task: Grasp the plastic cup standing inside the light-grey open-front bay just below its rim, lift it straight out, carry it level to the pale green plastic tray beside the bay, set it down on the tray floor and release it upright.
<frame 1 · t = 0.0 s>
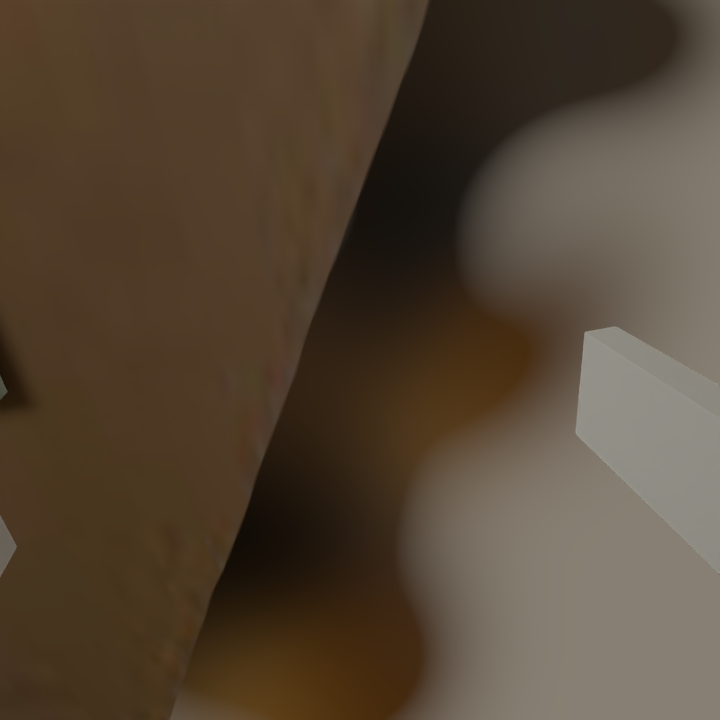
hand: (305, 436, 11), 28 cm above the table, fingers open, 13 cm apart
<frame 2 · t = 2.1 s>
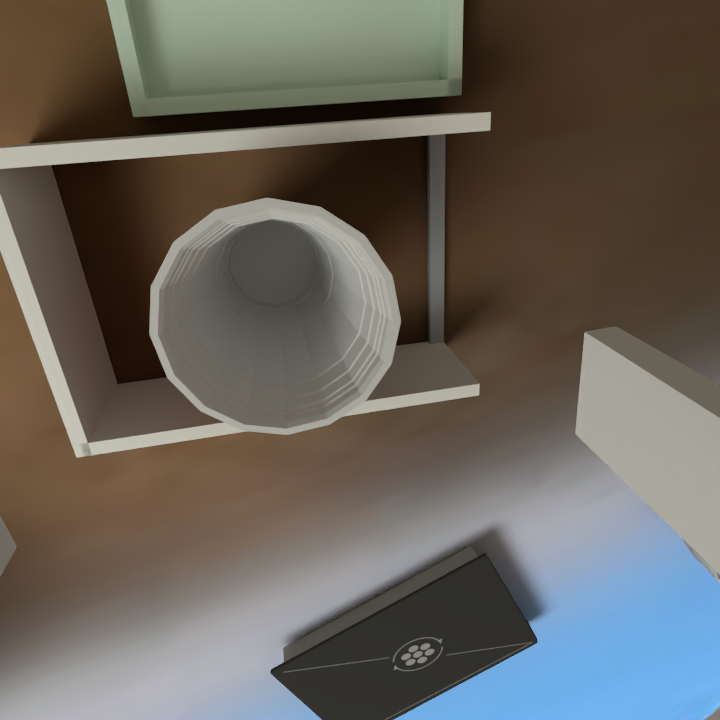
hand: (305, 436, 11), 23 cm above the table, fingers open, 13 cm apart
plastic cup: (269, 261, 33), resting in bay
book: (403, 627, 51), on the table
bay: (269, 262, 33), on the table
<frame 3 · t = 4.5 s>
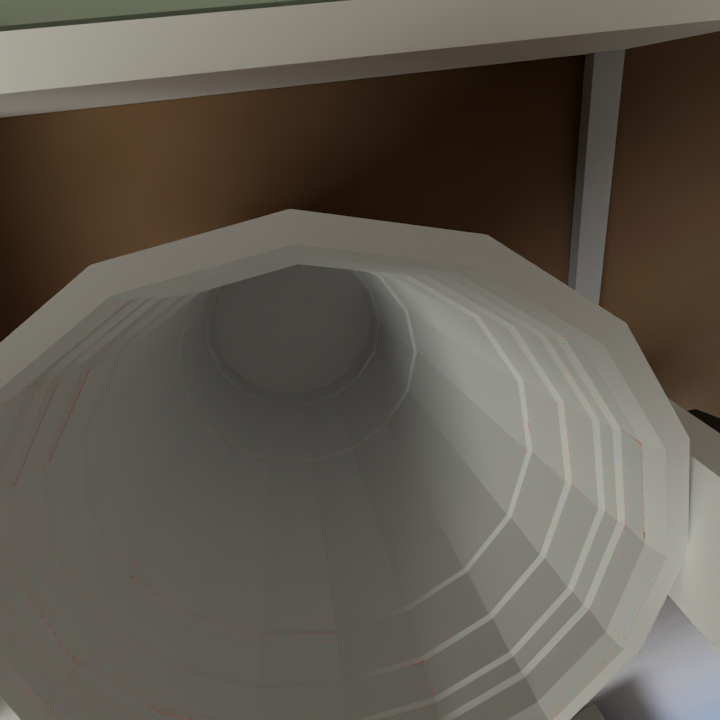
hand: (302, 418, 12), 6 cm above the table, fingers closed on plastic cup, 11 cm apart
plastic cup: (286, 318, 18), resting in bay, touching gripper
bay: (286, 319, 18), on the table
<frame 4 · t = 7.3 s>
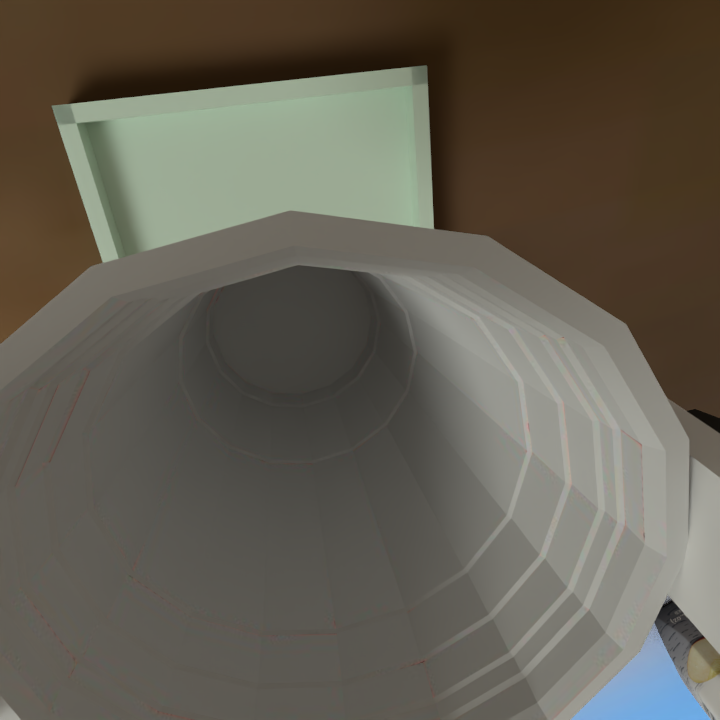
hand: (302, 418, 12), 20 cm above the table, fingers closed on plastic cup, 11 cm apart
juice carton: (694, 608, 52), on the table
tray: (275, 240, 30), on the table
plastic cup: (286, 319, 18), point 13 cm above the table, touching gripper
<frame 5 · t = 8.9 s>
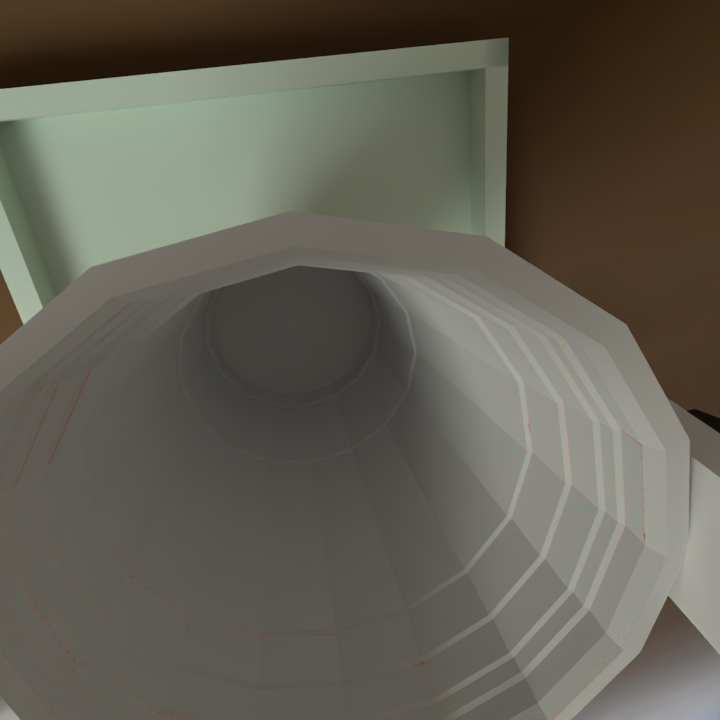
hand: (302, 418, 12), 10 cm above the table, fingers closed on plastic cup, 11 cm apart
tray: (278, 288, 21), on the table
plastic cup: (286, 319, 18), point 4 cm above the table, touching gripper
when the fingers open (7 cm above the table, at t = 10.1 s): plastic cup stays where it is, resting on tray.
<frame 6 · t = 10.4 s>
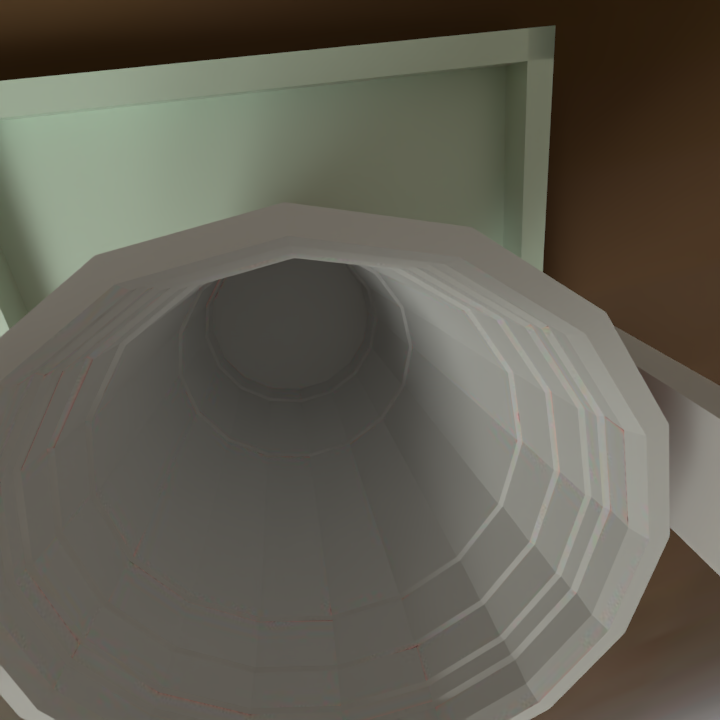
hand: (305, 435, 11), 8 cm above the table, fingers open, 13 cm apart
tray: (285, 312, 19), on the table
plastic cup: (285, 315, 18), resting on tray
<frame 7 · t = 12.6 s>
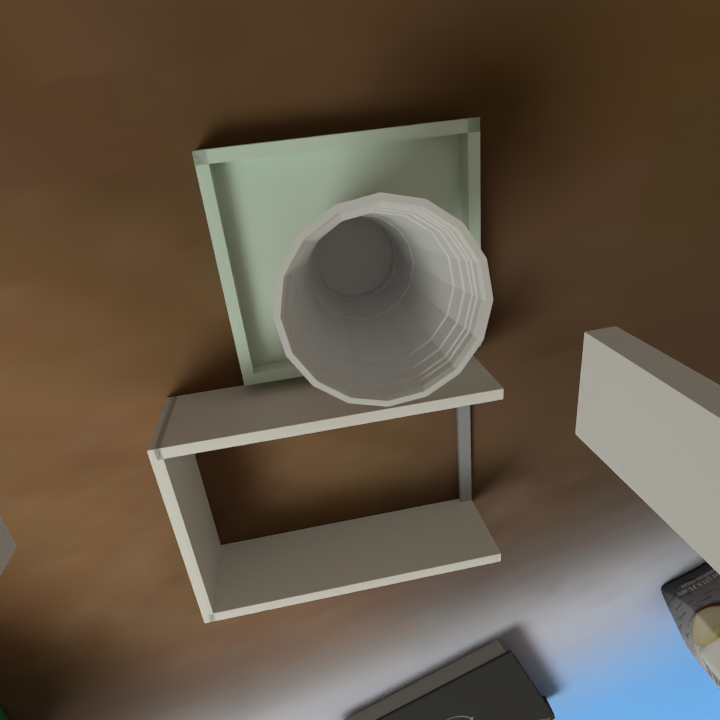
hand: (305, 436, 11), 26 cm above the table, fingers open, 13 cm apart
juice carton: (699, 584, 58), on the table
tray: (349, 254, 36), on the table
plastic cup: (350, 255, 36), resting on tray
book: (439, 703, 60), on the table
bay: (336, 455, 43), on the table
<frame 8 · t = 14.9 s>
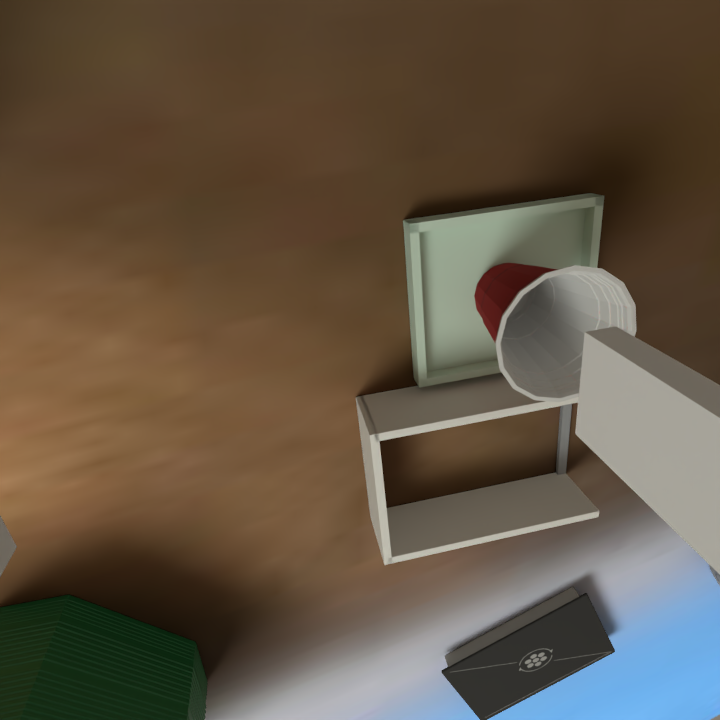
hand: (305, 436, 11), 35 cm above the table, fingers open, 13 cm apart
planter: (75, 685, 61), on the table
tray: (498, 290, 49), on the table
plastic cup: (499, 291, 49), resting on tray
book: (521, 641, 74), on the table
bay: (470, 439, 56), on the table
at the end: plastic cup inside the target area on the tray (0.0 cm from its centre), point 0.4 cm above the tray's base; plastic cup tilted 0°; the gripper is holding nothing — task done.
